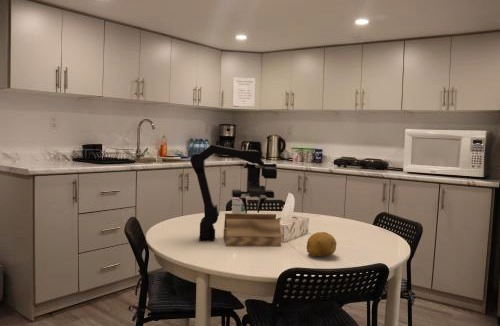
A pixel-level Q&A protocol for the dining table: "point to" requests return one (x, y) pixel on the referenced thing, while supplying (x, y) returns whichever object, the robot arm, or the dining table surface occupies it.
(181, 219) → the dining table surface
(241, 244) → the carton
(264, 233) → the near flap
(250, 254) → the dining table surface
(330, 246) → the potato
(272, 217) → the far flap
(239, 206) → the syrup box
